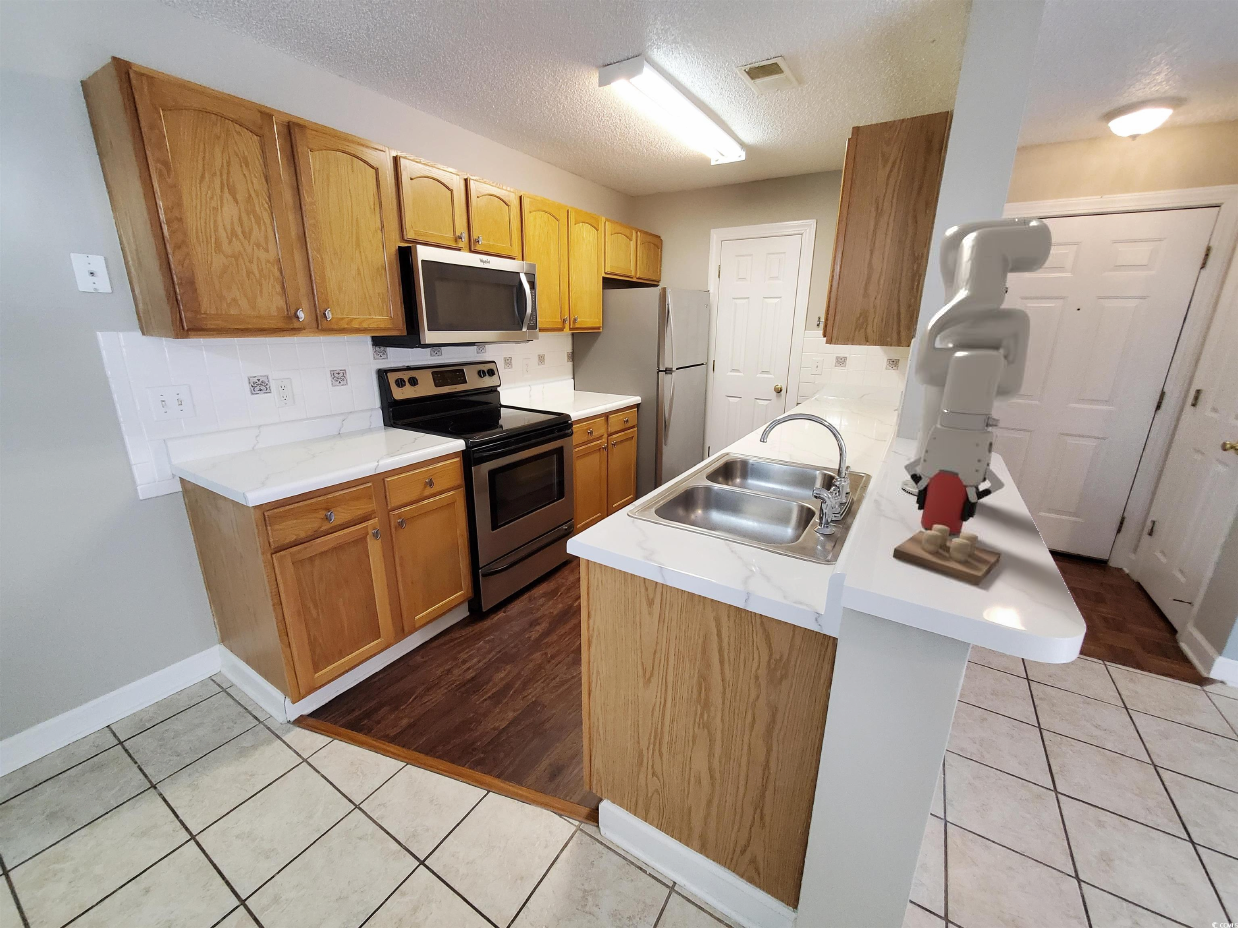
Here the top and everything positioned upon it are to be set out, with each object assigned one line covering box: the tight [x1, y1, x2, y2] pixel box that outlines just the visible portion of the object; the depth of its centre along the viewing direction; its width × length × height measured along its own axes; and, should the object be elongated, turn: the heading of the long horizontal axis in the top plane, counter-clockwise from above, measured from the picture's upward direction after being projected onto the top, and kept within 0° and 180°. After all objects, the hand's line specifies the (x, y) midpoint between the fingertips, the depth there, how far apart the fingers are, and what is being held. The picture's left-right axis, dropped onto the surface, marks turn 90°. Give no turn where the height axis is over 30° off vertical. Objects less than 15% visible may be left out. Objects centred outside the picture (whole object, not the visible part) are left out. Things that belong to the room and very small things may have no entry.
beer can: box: [920, 470, 969, 536], centre depth 91 cm, size 7×7×12 cm
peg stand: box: [892, 525, 1002, 586], centre depth 80 cm, size 12×12×4 cm
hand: (943, 513), depth 92 cm, fingers closed on beer can, 6 cm apart
